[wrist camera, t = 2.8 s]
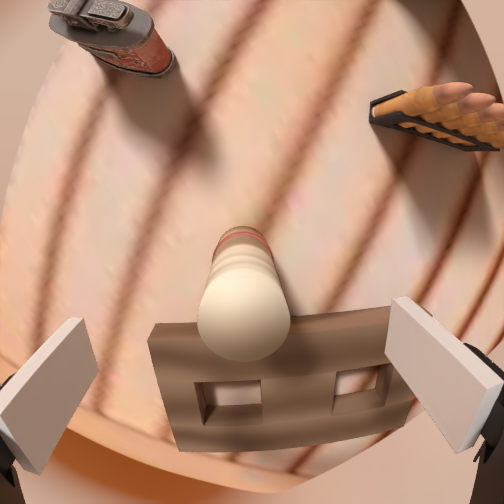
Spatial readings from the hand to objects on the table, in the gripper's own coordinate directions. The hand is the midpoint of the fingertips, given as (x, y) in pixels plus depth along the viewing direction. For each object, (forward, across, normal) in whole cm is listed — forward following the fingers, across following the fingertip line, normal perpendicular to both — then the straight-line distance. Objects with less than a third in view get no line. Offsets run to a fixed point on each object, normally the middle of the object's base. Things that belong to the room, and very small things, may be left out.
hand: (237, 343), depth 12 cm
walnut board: (+13, +4, -13) cm, 19 cm away
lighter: (+13, -8, +17) cm, 23 cm away
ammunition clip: (+13, +16, +10) cm, 23 cm away
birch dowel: (+13, 0, 0) cm, 13 cm away
